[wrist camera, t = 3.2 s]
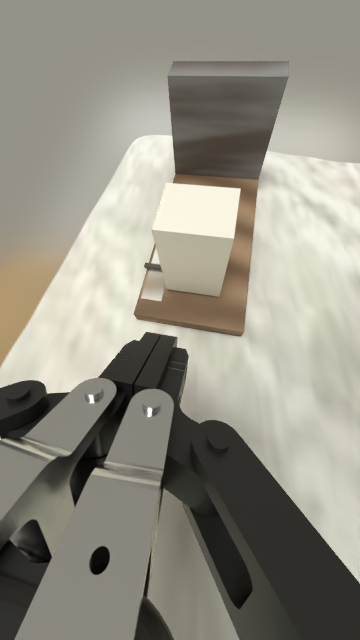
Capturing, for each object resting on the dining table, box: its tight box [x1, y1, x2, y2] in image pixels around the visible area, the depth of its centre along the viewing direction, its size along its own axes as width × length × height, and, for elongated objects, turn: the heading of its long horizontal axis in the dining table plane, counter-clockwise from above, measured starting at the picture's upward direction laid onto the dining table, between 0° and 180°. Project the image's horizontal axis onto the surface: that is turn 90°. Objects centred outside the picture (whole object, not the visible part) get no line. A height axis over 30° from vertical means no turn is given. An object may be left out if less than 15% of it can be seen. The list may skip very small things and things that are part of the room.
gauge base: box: [134, 61, 289, 336], centre depth 23 cm, size 28×12×12 cm, turn 169°
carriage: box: [144, 183, 241, 297], centre depth 20 cm, size 7×9×9 cm
